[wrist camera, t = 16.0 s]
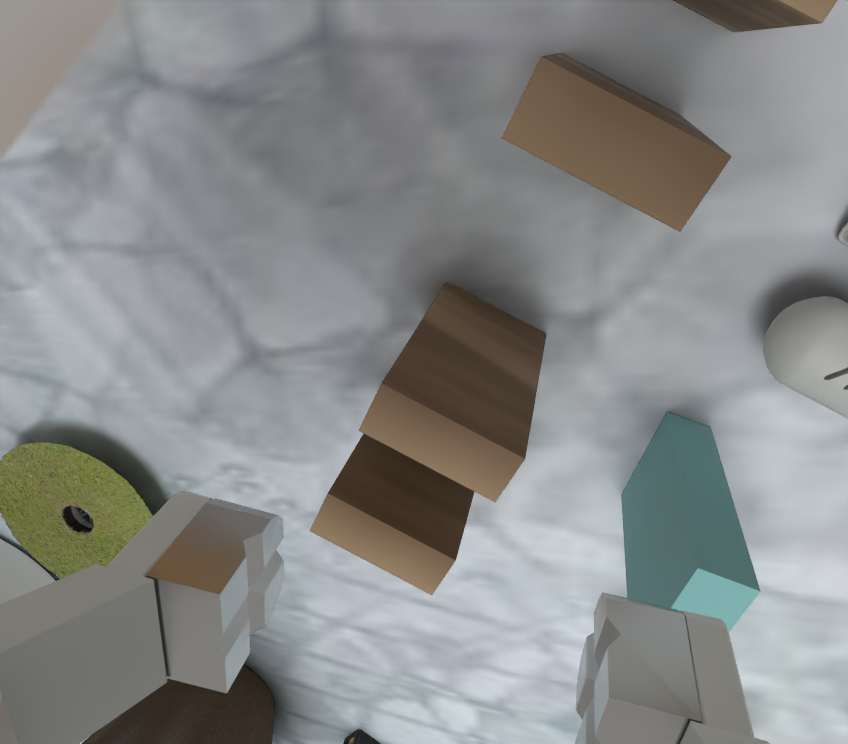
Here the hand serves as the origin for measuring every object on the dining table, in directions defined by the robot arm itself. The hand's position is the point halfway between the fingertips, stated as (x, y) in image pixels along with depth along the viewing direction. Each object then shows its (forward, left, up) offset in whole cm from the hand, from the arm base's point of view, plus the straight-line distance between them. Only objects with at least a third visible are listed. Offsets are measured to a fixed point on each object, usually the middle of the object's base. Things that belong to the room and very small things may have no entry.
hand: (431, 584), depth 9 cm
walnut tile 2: (+3, +4, -20) cm, 21 cm away
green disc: (-27, -16, -21) cm, 38 cm away
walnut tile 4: (-2, -4, -20) cm, 21 cm away
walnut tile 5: (-5, -9, -20) cm, 23 cm away
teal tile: (+6, -11, -20) cm, 24 cm away
